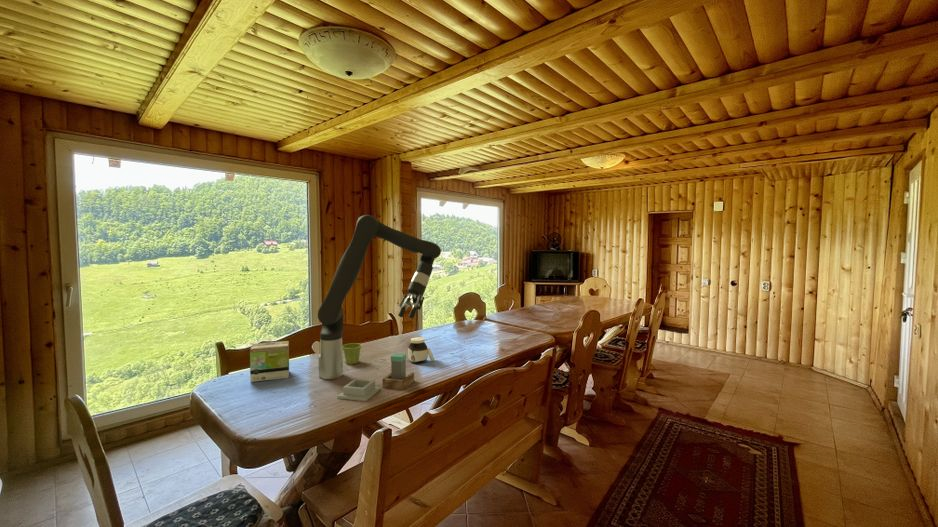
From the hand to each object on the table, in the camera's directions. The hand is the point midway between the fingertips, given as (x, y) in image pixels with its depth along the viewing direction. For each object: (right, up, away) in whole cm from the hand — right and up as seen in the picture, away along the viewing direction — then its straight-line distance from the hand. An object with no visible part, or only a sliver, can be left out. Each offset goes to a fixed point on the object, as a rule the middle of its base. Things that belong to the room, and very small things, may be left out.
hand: (405, 317), depth 166 cm
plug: (-2, -26, -6) cm, 27 cm away
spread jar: (+4, -26, +24) cm, 36 cm away
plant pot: (-30, -26, +22) cm, 45 cm away
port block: (-15, -28, -16) cm, 36 cm away
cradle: (-2, -27, -6) cm, 28 cm away
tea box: (-60, -27, +2) cm, 66 cm away
